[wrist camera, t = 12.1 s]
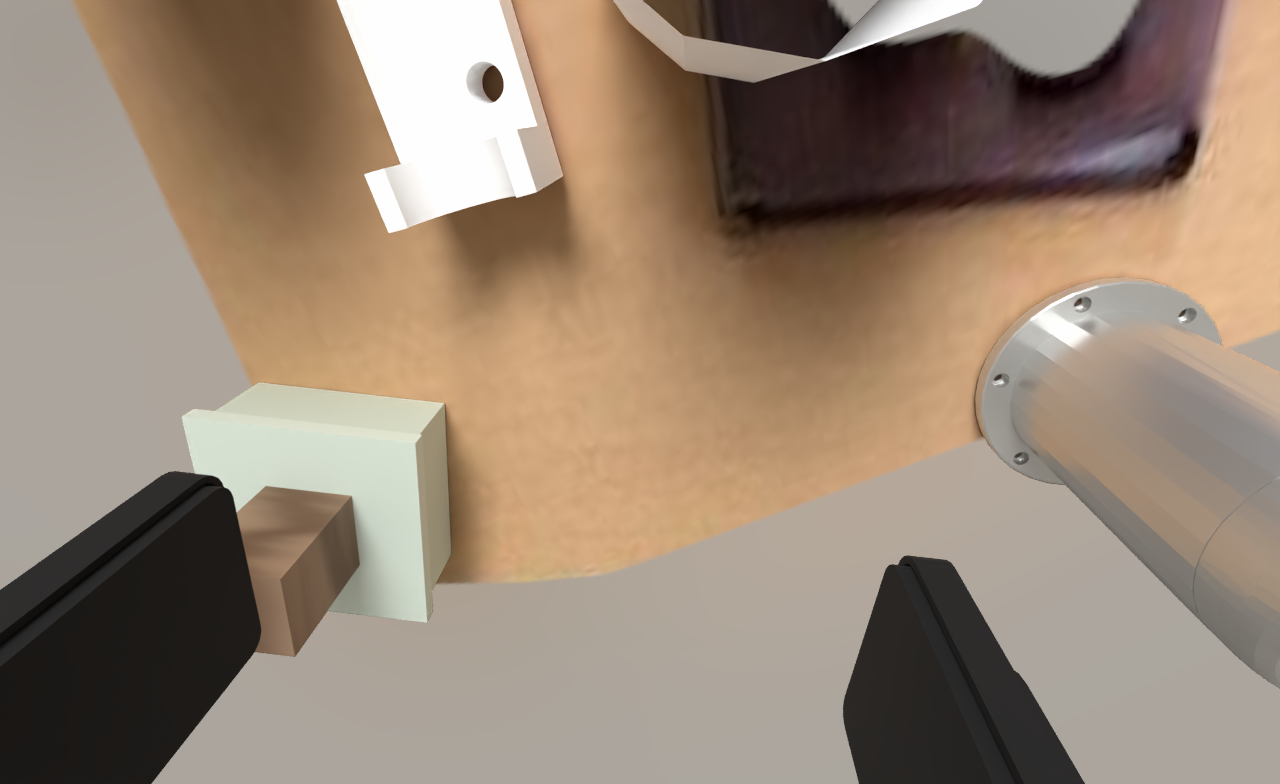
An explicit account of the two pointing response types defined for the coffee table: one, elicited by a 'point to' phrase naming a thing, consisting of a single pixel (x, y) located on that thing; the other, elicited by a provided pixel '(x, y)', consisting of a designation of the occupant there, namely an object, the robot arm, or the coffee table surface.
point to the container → (897, 11)
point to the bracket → (450, 105)
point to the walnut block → (296, 560)
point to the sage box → (345, 478)
